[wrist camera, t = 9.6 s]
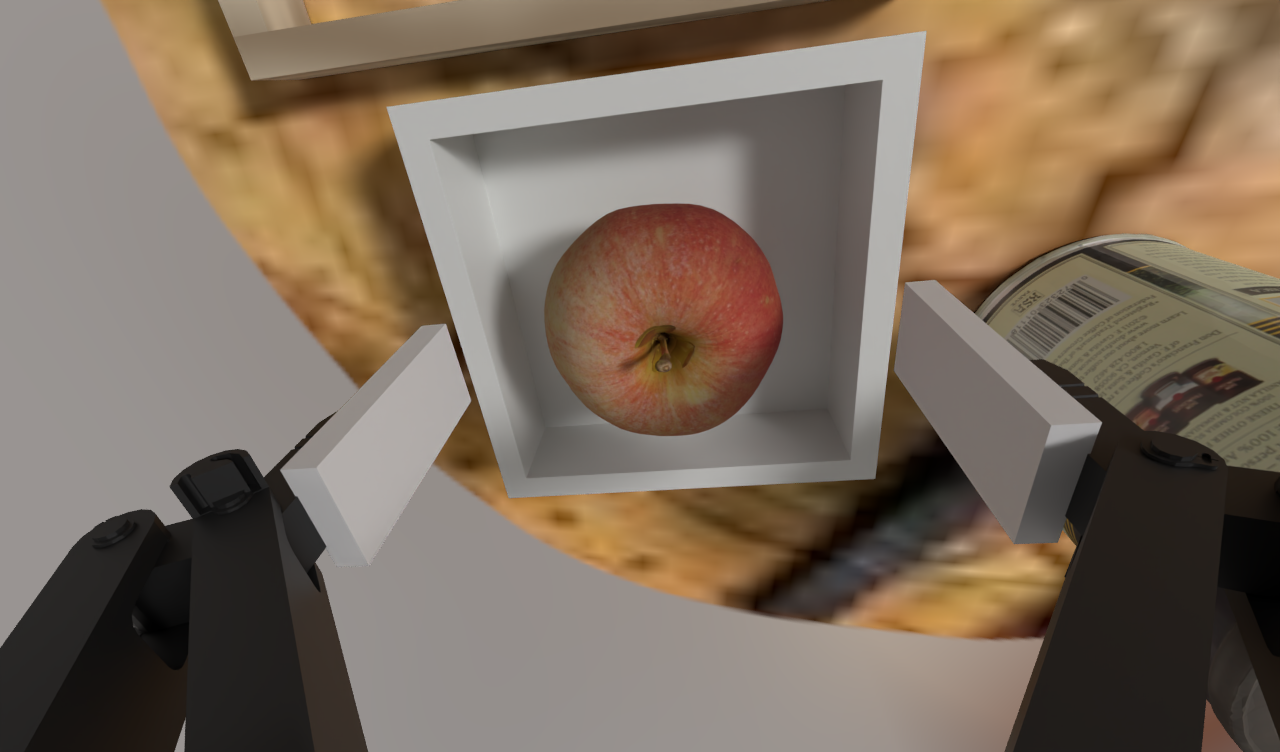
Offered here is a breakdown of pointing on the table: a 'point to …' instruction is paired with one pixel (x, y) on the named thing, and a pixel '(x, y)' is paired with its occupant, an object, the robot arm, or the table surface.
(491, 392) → the bin
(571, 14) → the corral
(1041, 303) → the coffee can
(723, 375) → the apple
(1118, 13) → the table surface
